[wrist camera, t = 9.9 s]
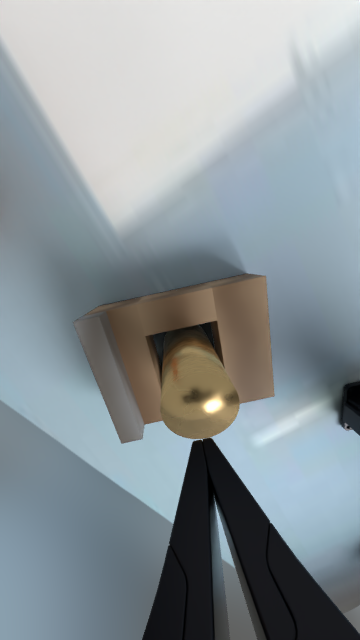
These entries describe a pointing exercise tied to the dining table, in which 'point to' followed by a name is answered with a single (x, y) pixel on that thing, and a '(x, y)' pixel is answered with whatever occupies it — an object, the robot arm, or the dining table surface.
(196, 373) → the brass cylinder rod
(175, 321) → the jig
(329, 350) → the dining table surface
